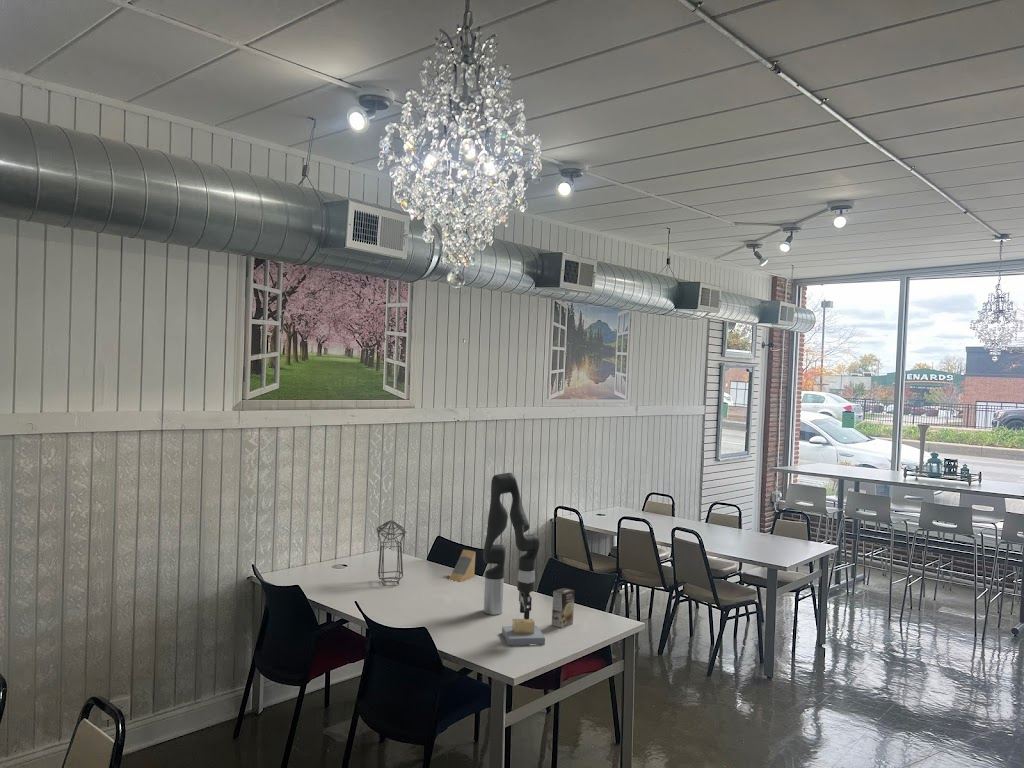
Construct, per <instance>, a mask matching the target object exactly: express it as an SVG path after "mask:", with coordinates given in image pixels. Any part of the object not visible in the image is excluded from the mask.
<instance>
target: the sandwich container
mask: <svg viewBox="0 0 1024 768" xmlns="http://www.w3.org/2000/svg"><path fill="white" fill-rule="evenodd" d="M476 554H477V553H476V551H474V550H469V549H462V551H461V554H460V556H459V559H458V560H457V563H456V564H455V567H454V568H453V571H452V573H451V575H450V576H449V578H448V580H449V579H450V580H453V581H452V582H455V581H457V582H456V583H460V582H461V583H464V582H465V581H468V580H471V579H473V578H475V572H476V570H475V568H476ZM470 578H471V579H470ZM467 579H468V580H467ZM450 580H449V581H450Z"/></svg>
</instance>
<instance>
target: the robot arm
mask: <svg viewBox="0 0 1024 768" xmlns="http://www.w3.org/2000/svg"><path fill="white" fill-rule="evenodd" d="M490 485H491V486H490V502H489V503H490V504H489V511H488V517H487V527H486V536H485V541H484V545H483V552H482V553H483V554H482V558H483V562H484V563H485V564H489V565H490V564H492V565H493V564H494V565H495V566H494V567H492V568H489V569H487V570H486V571H485V573H484V597H483V613H484V614H487V615H491V616H496V615H497V614H498V615H501V614H502V613H503V603H504V585H505V584H504V582H505V581H504V580H505V578H504V577H505V563H506V554H507V553H506V546H505V545H503V544H494V543H495V541H496V540H497V539H498V538H499V536H501V535H502V534H503V532H505V530H506V528H507V526H508V519H509V518H510V522H511V524H512V525H511V526H512V527H513V529H514V536H515V546H516V548H517V550H518V551H519V552H526V553H525V554H523V555H521V556H520V557H519V559H518V572H517V583H516V584H517V585H516V586H517V591H518V595H519V596H518V602H519V613H520V614H523V619H530V611H531V612H532V599H533V598H532V596H531V594H530V593H532V592H534V591H535V582H536V581H535V579H536V577H535V576H536V575H535V574H536V573H535V567H536V565H535V564H536V559H537V556H538V552H539V548H540V546H541V545H540V544H541V543H540V541H541V540H540V538H539V537H538V535H537V534H533V533H531V534H524V533H527V532H528V531H529V530H530V523H529V521H528V518H527V515H526V513H525V509H524V507H523V502H522V499H521V494H520V489H519V486H518V481H517V478H516V475H514V473H513V472H505V473H498V474H495V475H493V476H492V477H491V484H490ZM509 493H510V494H511V497H512V502H511V506H510V507H511V508H510V511H509V514H508V512H507V509H506V508H505V506H504V505H503V503H502V501H501V495H503V494H509ZM508 515H509V516H508Z"/></svg>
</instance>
